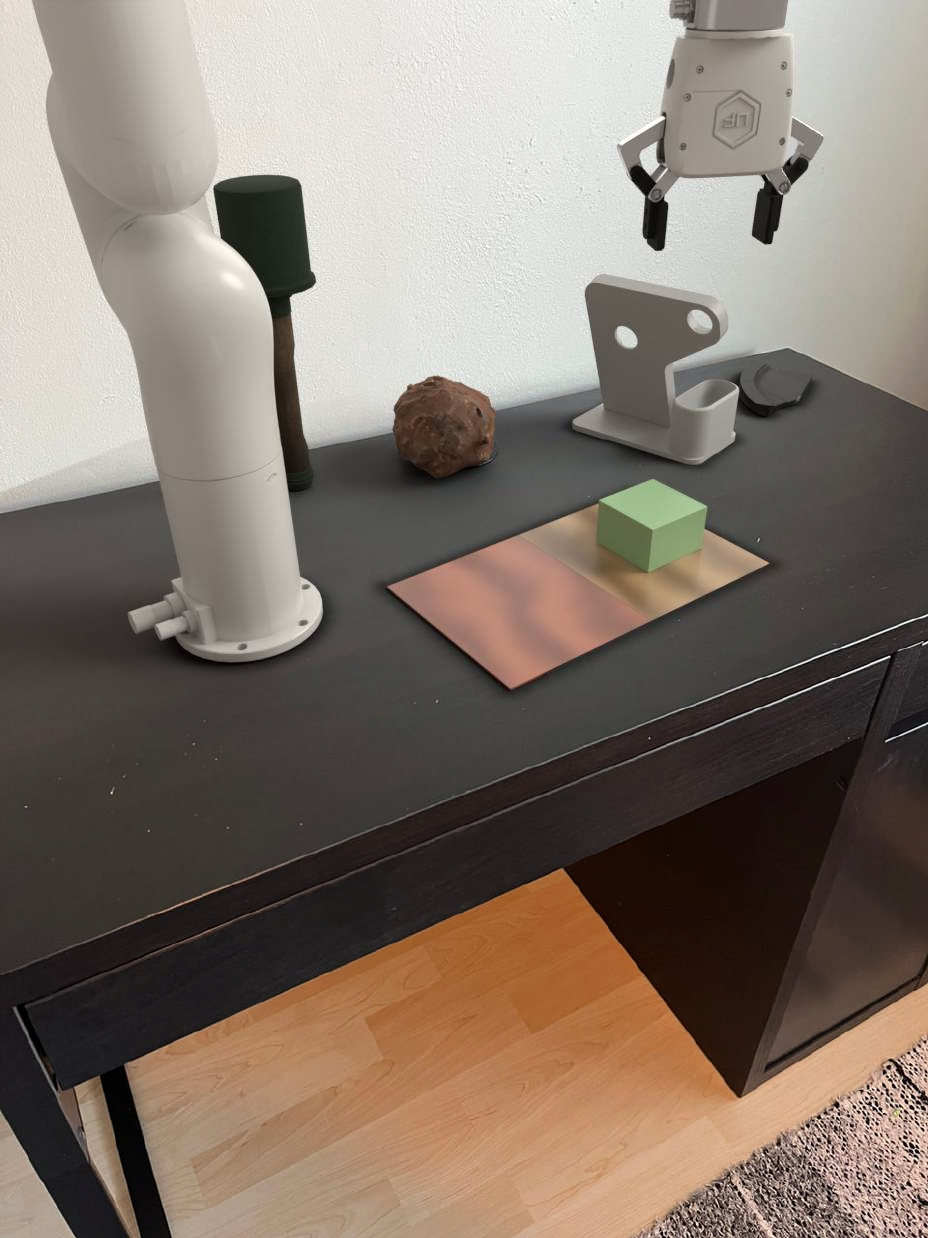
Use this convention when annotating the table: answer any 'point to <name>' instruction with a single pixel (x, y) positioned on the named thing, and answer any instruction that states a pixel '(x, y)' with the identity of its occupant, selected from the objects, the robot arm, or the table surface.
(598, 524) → the green block
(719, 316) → the phone holder
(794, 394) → the dark sector wedge
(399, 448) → the decorative rock
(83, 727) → the table surface
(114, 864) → the table surface
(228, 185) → the potato masher grenade
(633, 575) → the plate
